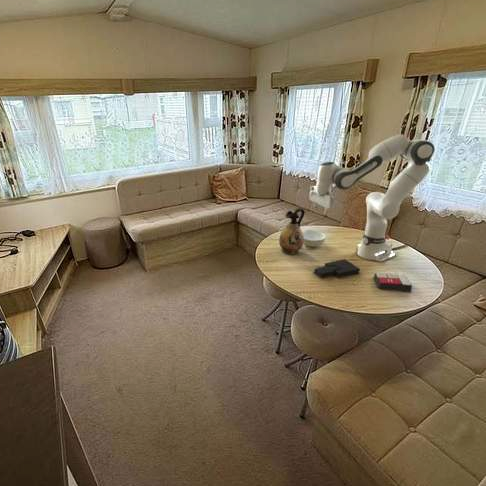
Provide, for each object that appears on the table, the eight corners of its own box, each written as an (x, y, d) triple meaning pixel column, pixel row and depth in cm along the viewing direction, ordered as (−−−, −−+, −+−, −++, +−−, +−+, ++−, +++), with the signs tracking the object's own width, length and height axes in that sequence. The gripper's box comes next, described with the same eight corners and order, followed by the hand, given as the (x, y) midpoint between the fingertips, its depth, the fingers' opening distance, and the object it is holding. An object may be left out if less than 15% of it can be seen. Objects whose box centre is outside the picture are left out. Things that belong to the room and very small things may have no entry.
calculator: (374, 271, 164) (405, 273, 161) (373, 278, 166) (403, 280, 163) (380, 282, 155) (412, 284, 151) (378, 289, 157) (410, 291, 153)
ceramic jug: (285, 258, 188) (289, 213, 174) (274, 247, 201) (277, 205, 188) (309, 254, 192) (315, 210, 178) (296, 244, 205) (301, 202, 192)
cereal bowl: (303, 237, 215) (304, 228, 212) (327, 242, 206) (328, 233, 203) (294, 245, 203) (295, 236, 200) (319, 252, 194) (320, 242, 191)
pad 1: (332, 268, 175) (333, 264, 174) (339, 274, 170) (340, 269, 169) (314, 273, 172) (314, 268, 170) (320, 278, 167) (321, 273, 165)
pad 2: (344, 263, 181) (344, 259, 179) (358, 273, 170) (359, 268, 169) (324, 267, 177) (325, 263, 175) (338, 277, 167) (339, 273, 165)
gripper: (339, 193, 171) (335, 216, 177) (317, 185, 188) (314, 205, 194) (330, 195, 169) (326, 217, 175) (308, 186, 187) (306, 207, 193)
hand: (320, 211), depth 185 cm, fingers open, 8 cm apart
